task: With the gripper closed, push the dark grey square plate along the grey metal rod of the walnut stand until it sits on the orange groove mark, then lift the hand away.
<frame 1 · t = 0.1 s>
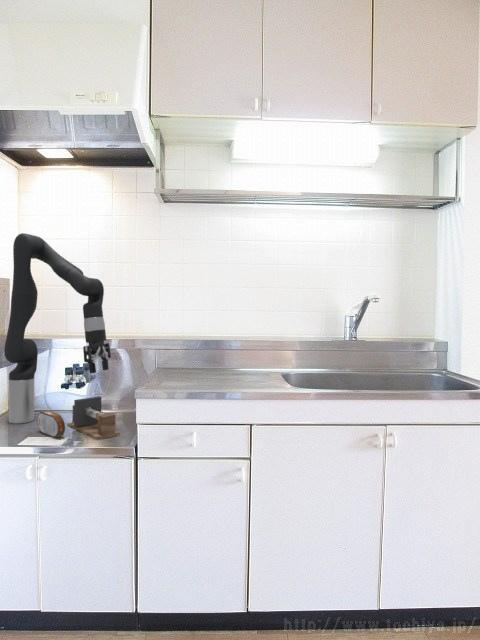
hand: (99, 371, 161), 22 cm above the countertop, tool pointing down, fingers open, 8 cm apart
tin: (50, 435, 154), on the countertop
dark grey square plate: (88, 411, 163), point 6 cm above the countertop, slide at -4.0 cm
rod stand: (92, 430, 160), on the countertop
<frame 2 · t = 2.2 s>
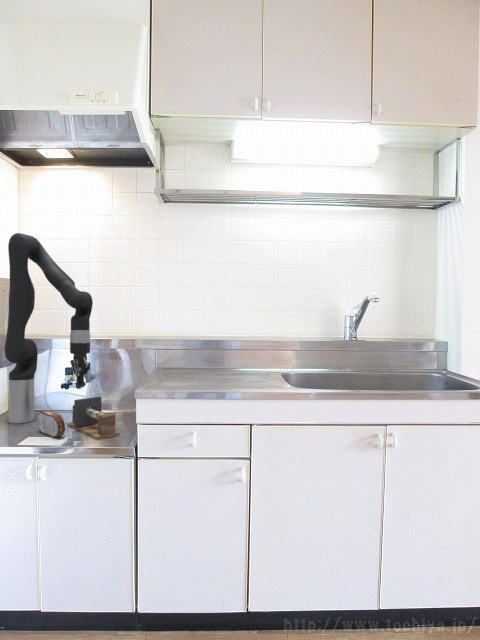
hand: (80, 384, 167), 16 cm above the countertop, tool pointing down, fingers closed
nothing on the countertop moved.
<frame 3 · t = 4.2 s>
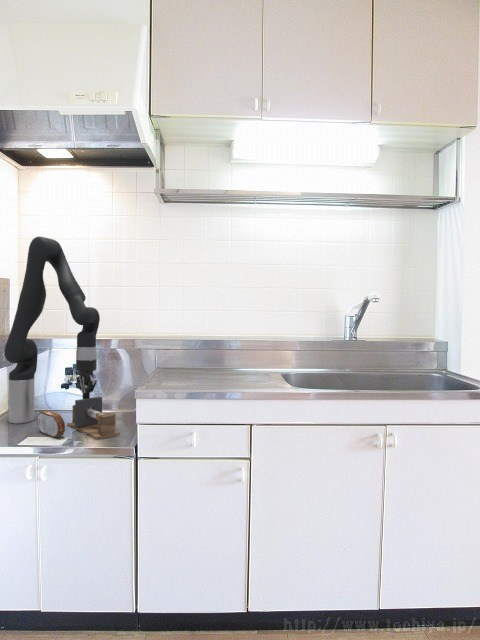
hand: (86, 402, 164), 10 cm above the countertop, tool pointing down, fingers closed
dark grey square plate: (88, 411, 162), point 7 cm above the countertop, slide at -3.3 cm, touching gripper
everything else where it was.
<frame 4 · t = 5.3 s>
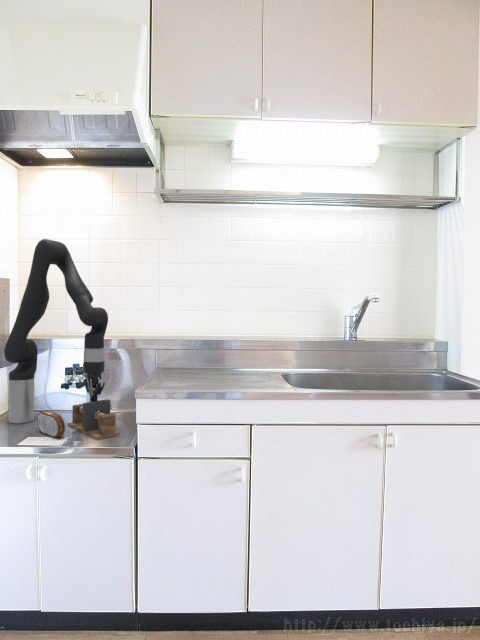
hand: (93, 405, 160), 10 cm above the countertop, tool pointing down, fingers closed
dark grey square plate: (96, 414, 158), point 6 cm above the countertop, slide at 3.0 cm, touching gripper
everything else where it was.
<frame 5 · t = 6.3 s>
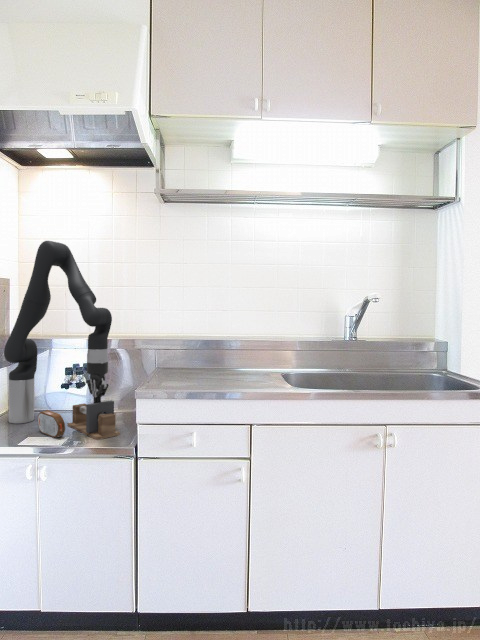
hand: (97, 406, 158), 10 cm above the countertop, tool pointing down, fingers closed
dark grey square plate: (100, 416, 156), point 7 cm above the countertop, slide at 5.7 cm, touching gripper
everything else where it was.
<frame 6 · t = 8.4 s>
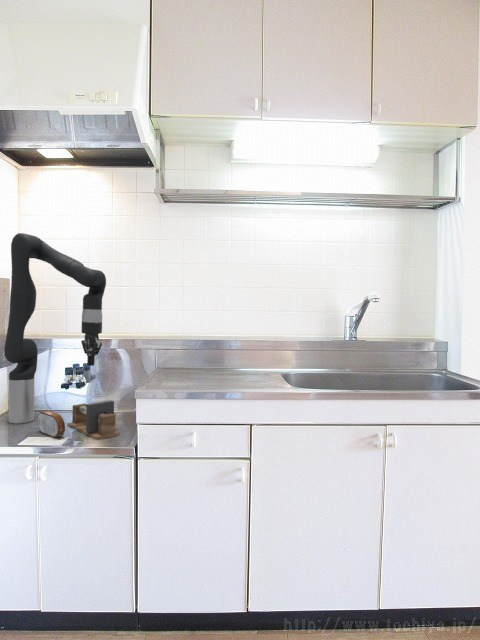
hand: (90, 365, 163), 24 cm above the countertop, tool pointing down, fingers closed
dark grey square plate: (100, 416, 156), point 6 cm above the countertop, slide at 5.8 cm
everything else where it was.
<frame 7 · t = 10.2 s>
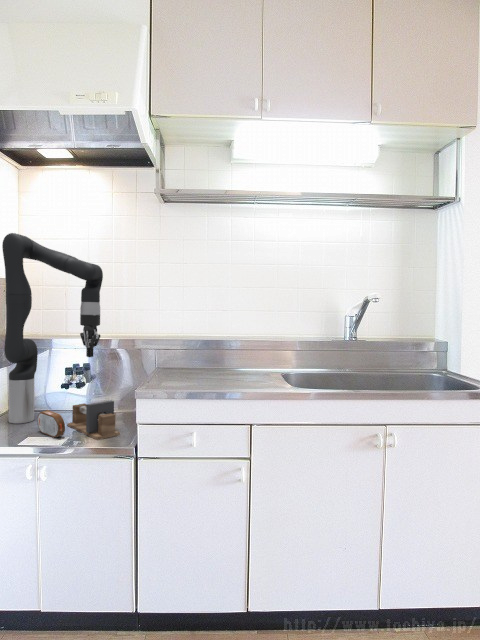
hand: (89, 356, 168), 27 cm above the countertop, tool pointing down, fingers closed
nothing on the countertop moved.
at the end: dark grey square plate slide at 5.8 cm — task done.
